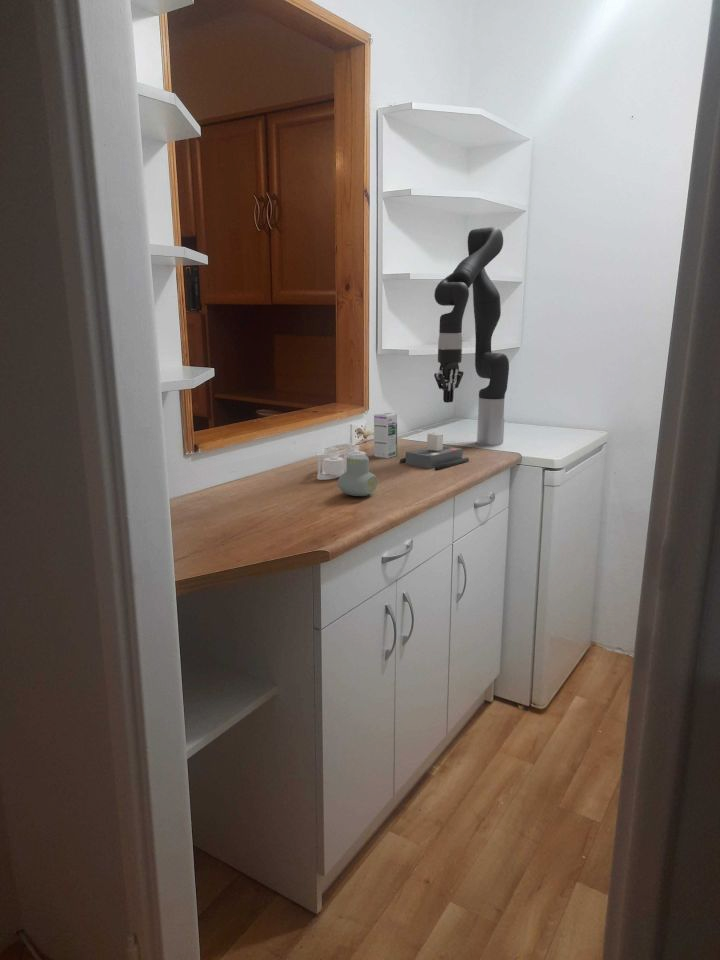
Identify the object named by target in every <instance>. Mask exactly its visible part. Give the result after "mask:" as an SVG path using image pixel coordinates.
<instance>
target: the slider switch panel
mask: <svg viewBox="0 0 720 960" xmlns="http://www.w3.org/2000/svg"><path fill="white" fill-rule="evenodd" d="M469 461H470V458H468V457H465V458H464V457H463V458H462V459H459V460H455V461H451V462H448V463H444V464H440V465H436V466H435V468H434V470H436V471H438V470H441V469H445V468H449V467H452V466H457V465H461V464H464V463H468V462H469ZM399 463H400V464H404V463H405V464H406V457H404V458H400V460H399Z"/></svg>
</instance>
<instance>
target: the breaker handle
mask: <svg viewBox="0 0 720 960" xmlns="http://www.w3.org/2000/svg"><path fill="white" fill-rule="evenodd" d="M426 437H427V438H426V447H427V449H428V450H434V451H439V450H443V446H444V434H443V433H437V432H431V433H427V435H426Z"/></svg>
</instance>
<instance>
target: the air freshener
mask: <svg viewBox="0 0 720 960" xmlns="http://www.w3.org/2000/svg"><path fill="white" fill-rule="evenodd" d="M378 482H379V481H378V478H377V476H376V475H375V474H374V473H372V472H370V459H369V456H367V455H366V456H363V455H352V456H348V457H347V472H345V473H343V474H342V475H341V476H339V477H338V480H337V487H338V490H340V491H341V492H342V493H344V494H345V495H347V496H352V497H365V496H366V497H367V496H369V495H370V494H372V493H373V492H375V490H376V489H377V486H378Z"/></svg>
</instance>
